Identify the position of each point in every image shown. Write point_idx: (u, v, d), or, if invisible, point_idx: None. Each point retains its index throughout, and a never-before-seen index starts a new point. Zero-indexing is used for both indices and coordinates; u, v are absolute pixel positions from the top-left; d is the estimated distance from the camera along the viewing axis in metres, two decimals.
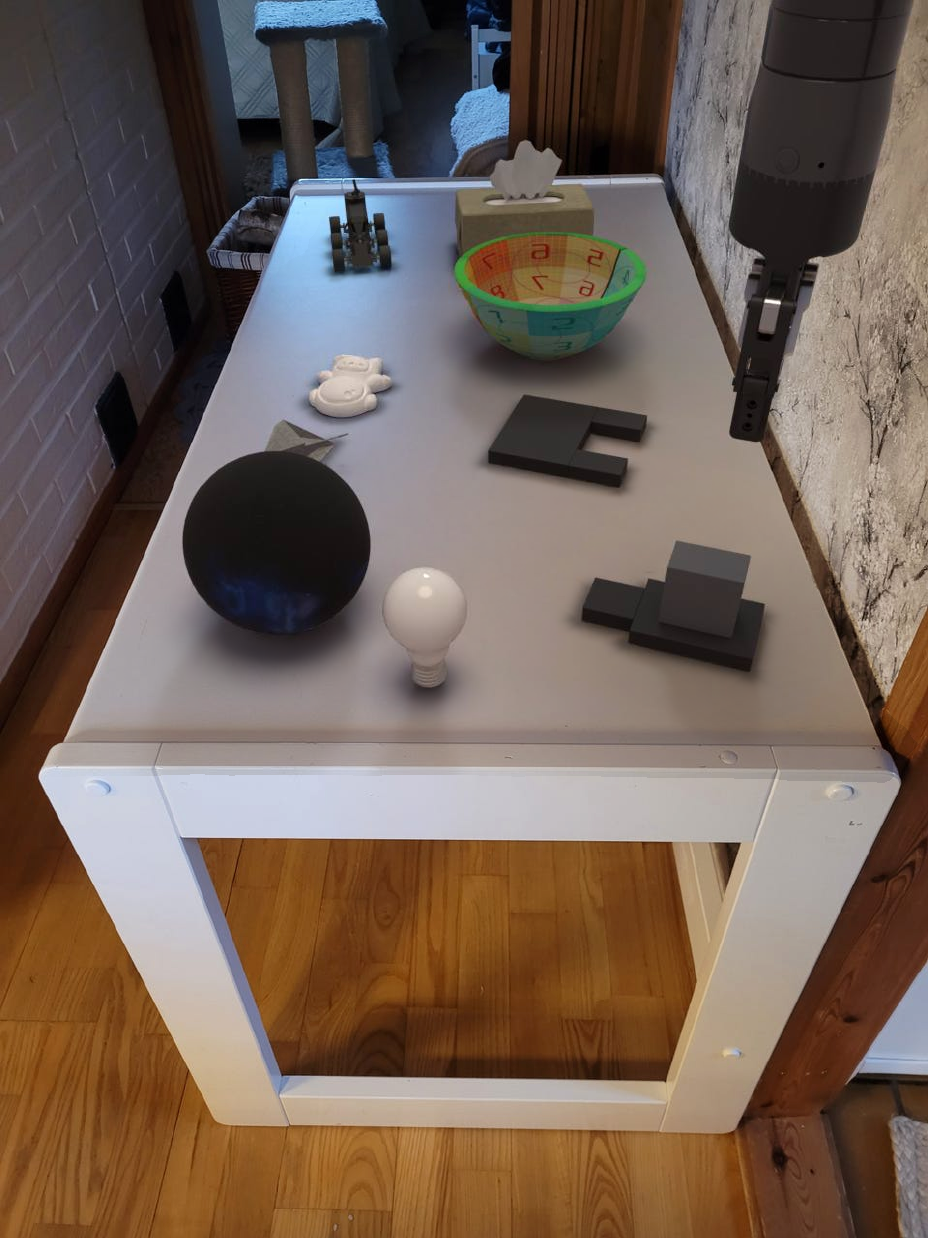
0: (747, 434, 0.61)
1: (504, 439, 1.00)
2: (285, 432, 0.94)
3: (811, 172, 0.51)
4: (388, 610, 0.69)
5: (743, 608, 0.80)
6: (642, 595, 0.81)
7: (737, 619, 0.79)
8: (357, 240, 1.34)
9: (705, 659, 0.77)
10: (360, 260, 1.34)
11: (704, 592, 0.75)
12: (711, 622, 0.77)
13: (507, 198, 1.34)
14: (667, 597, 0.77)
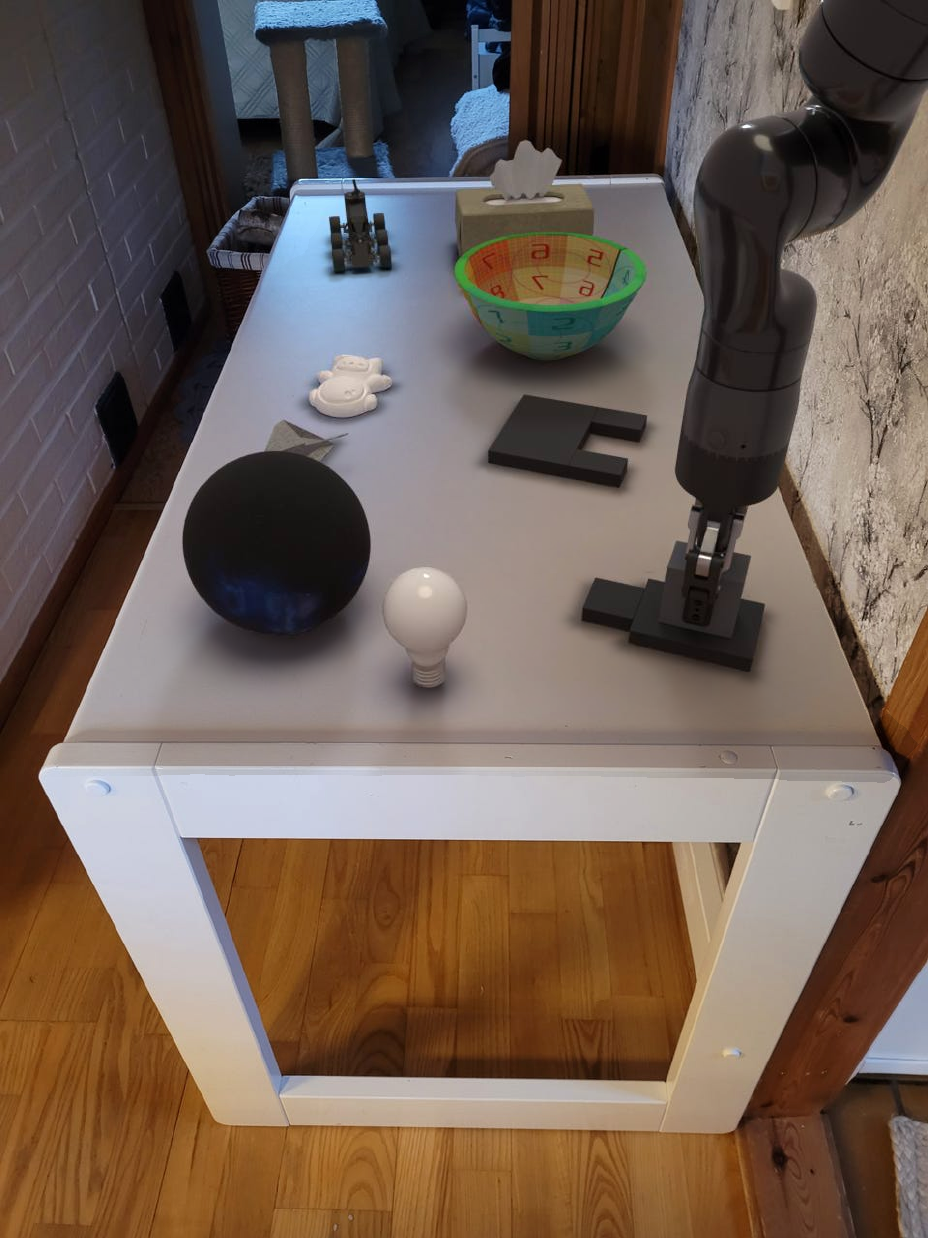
0: (696, 622, 0.76)
1: (504, 439, 1.00)
2: (285, 432, 0.94)
3: (735, 451, 0.64)
4: (388, 610, 0.69)
5: (743, 608, 0.80)
6: (642, 595, 0.81)
7: (737, 619, 0.79)
8: (357, 240, 1.34)
9: (705, 659, 0.77)
10: (360, 260, 1.34)
11: None
12: (711, 622, 0.77)
13: (507, 198, 1.34)
14: (667, 597, 0.77)
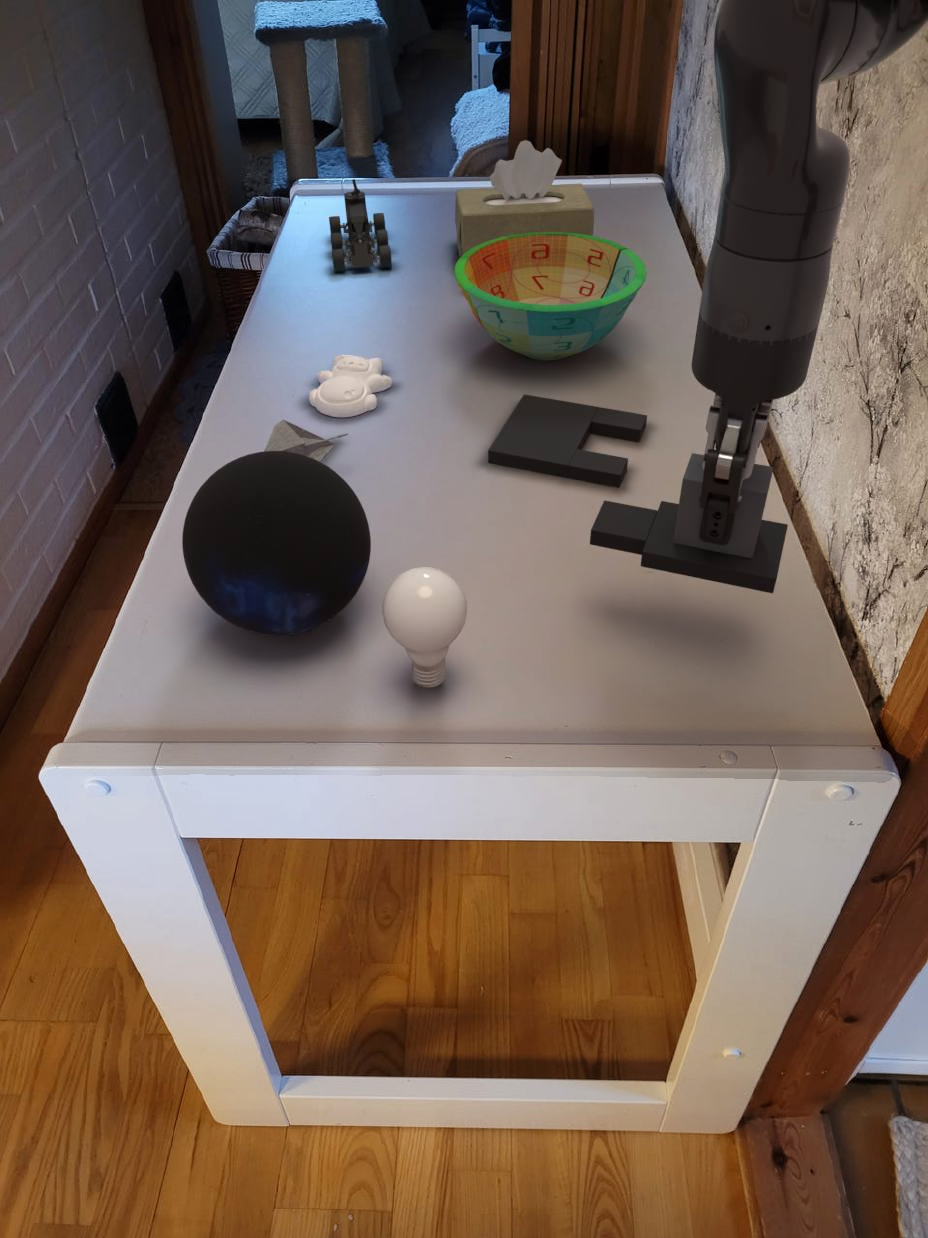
0: (714, 539, 0.70)
1: (504, 439, 1.00)
2: (285, 432, 0.94)
3: (759, 333, 0.58)
4: (388, 610, 0.69)
5: (764, 529, 0.74)
6: (654, 518, 0.76)
7: (758, 540, 0.73)
8: (357, 240, 1.34)
9: (724, 581, 0.72)
10: (360, 260, 1.34)
11: None
12: (730, 541, 0.71)
13: (507, 198, 1.34)
14: (682, 513, 0.71)
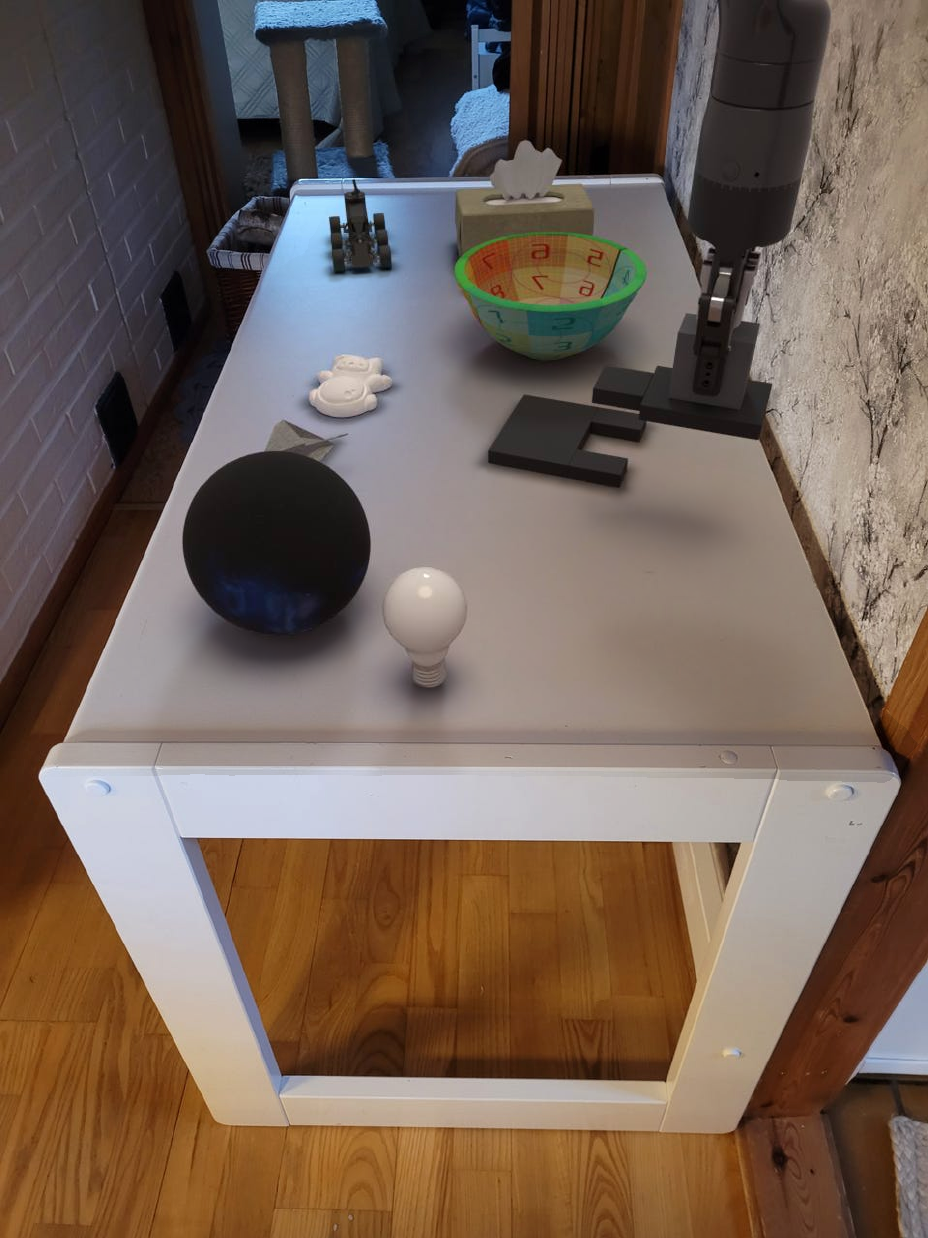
0: (706, 389, 0.77)
1: (504, 439, 1.00)
2: (285, 432, 0.94)
3: (749, 180, 0.65)
4: (388, 610, 0.69)
5: (751, 387, 0.81)
6: (651, 378, 0.83)
7: (745, 395, 0.80)
8: (357, 240, 1.34)
9: (714, 430, 0.79)
10: (360, 260, 1.34)
11: None
12: (720, 392, 0.78)
13: (507, 198, 1.34)
14: (677, 367, 0.78)
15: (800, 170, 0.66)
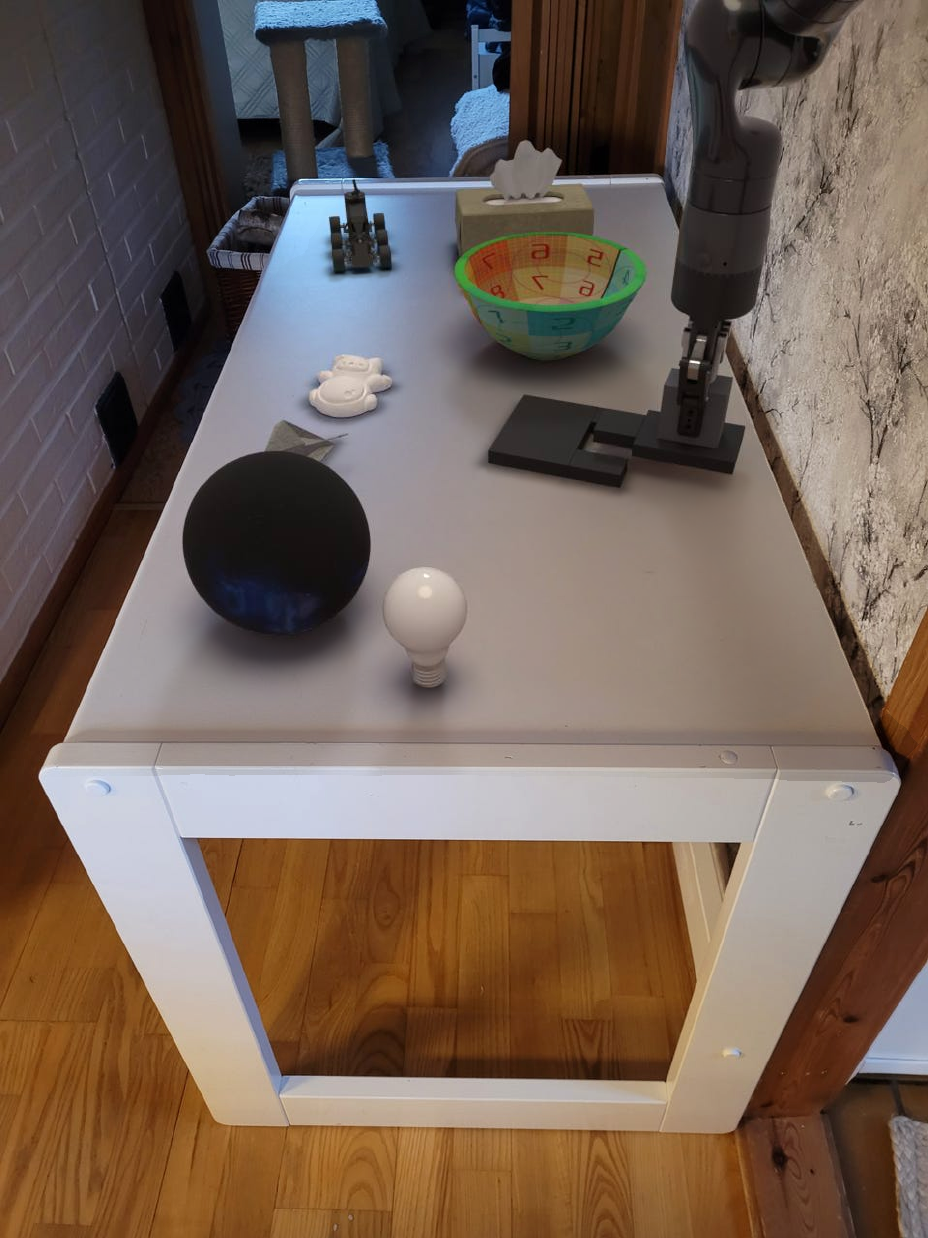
0: (688, 432, 0.92)
1: (504, 439, 1.00)
2: (285, 432, 0.94)
3: (719, 268, 0.80)
4: (388, 610, 0.69)
5: (727, 429, 0.96)
6: (643, 421, 0.98)
7: (722, 436, 0.95)
8: (357, 240, 1.34)
9: (695, 466, 0.94)
10: (360, 260, 1.34)
11: None
12: (700, 434, 0.93)
13: (507, 198, 1.34)
14: (664, 413, 0.93)
15: (761, 259, 0.81)
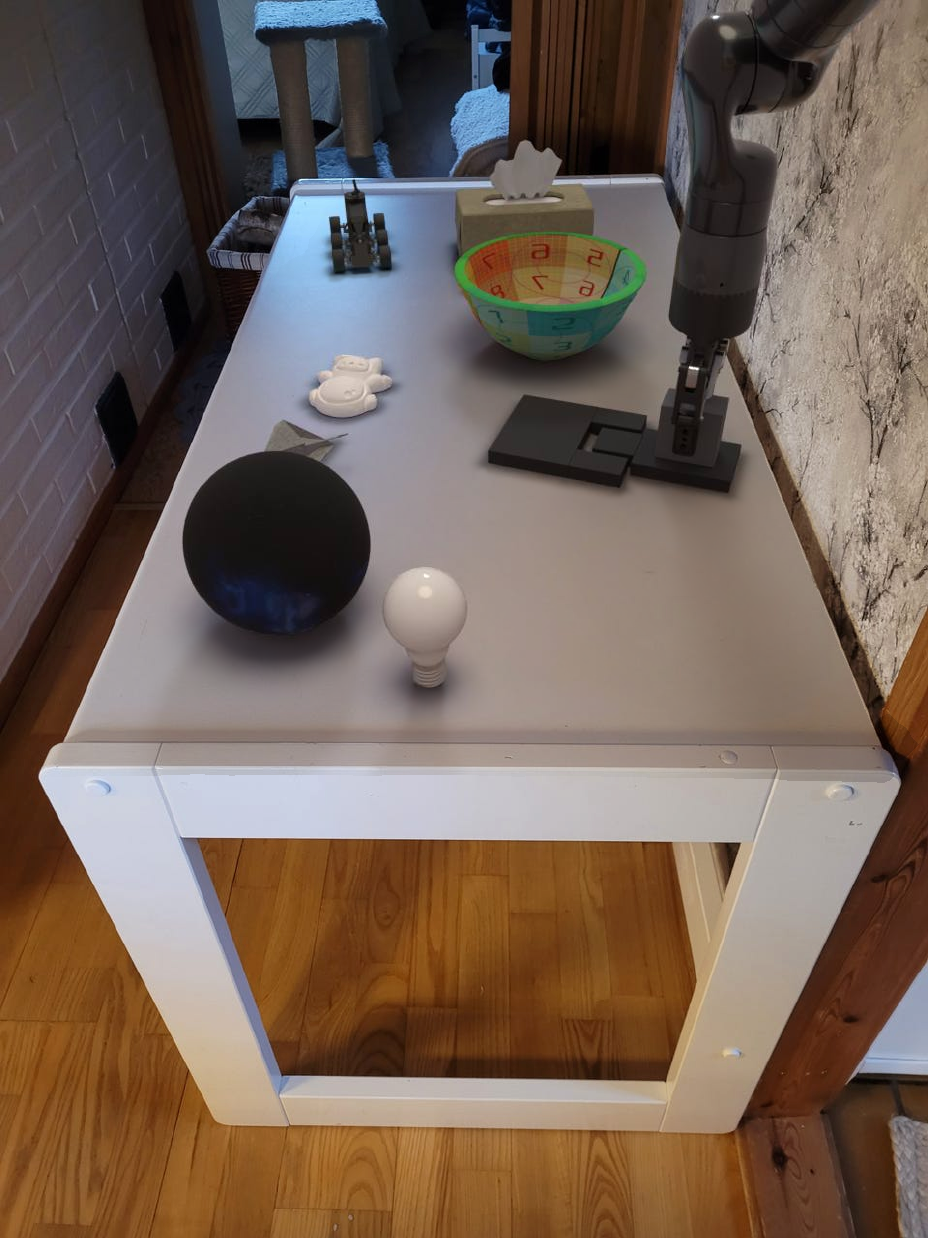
0: (683, 451, 0.91)
1: (504, 439, 1.00)
2: (285, 432, 0.94)
3: (715, 289, 0.81)
4: (388, 610, 0.69)
5: (723, 447, 0.98)
6: (640, 439, 0.99)
7: (718, 454, 0.97)
8: (357, 240, 1.34)
9: (692, 484, 0.95)
10: (360, 260, 1.34)
11: None
12: (697, 453, 0.95)
13: (507, 198, 1.34)
14: (661, 433, 0.95)
15: (757, 279, 0.82)
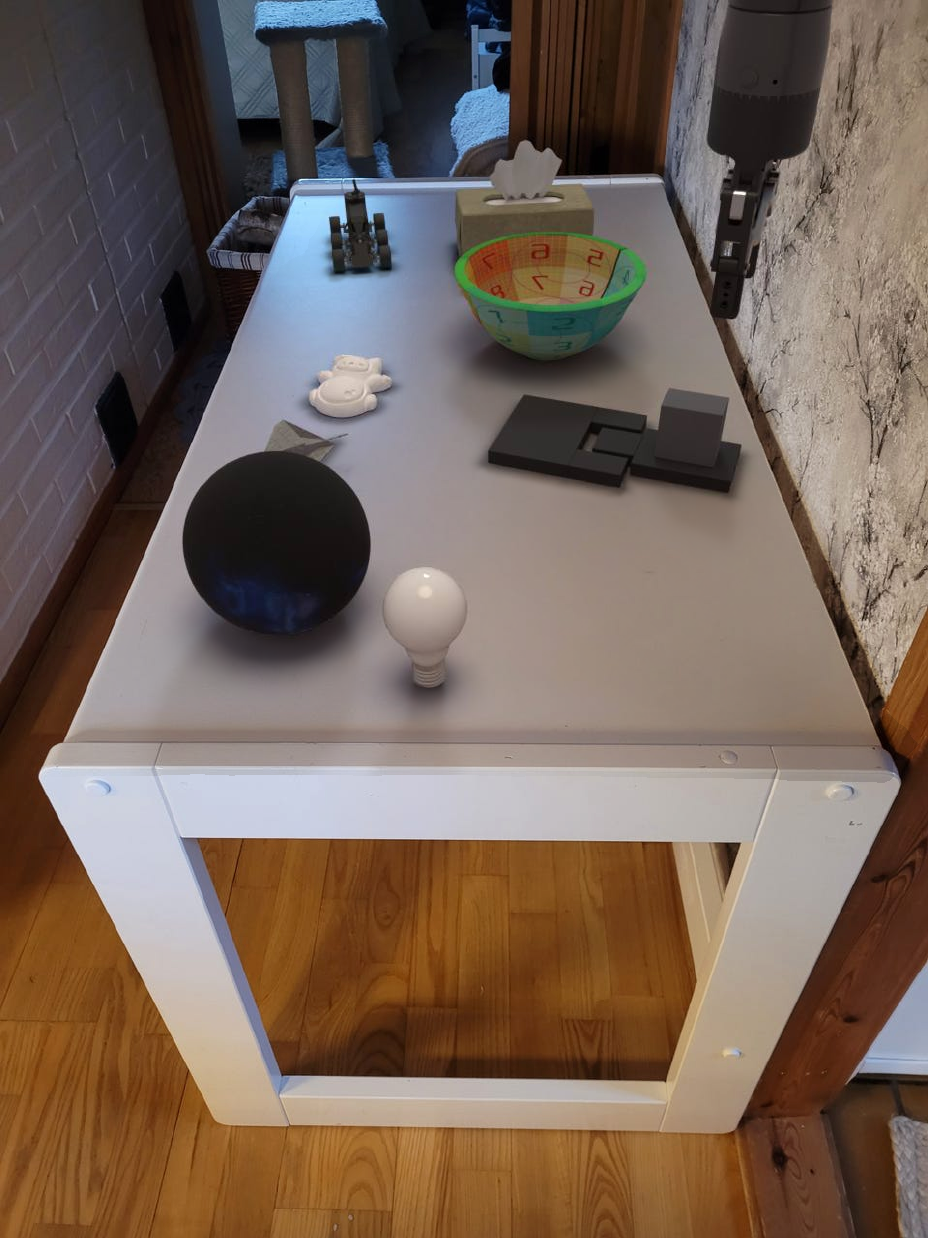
0: (724, 311, 0.75)
1: (504, 439, 1.00)
2: (285, 432, 0.94)
3: (767, 88, 0.66)
4: (388, 610, 0.69)
5: (723, 447, 0.98)
6: (640, 439, 0.99)
7: (718, 454, 0.97)
8: (357, 240, 1.34)
9: (692, 484, 0.95)
10: (360, 260, 1.34)
11: (691, 426, 0.93)
12: (697, 453, 0.95)
13: (507, 198, 1.34)
14: (661, 433, 0.95)
15: (819, 79, 0.67)
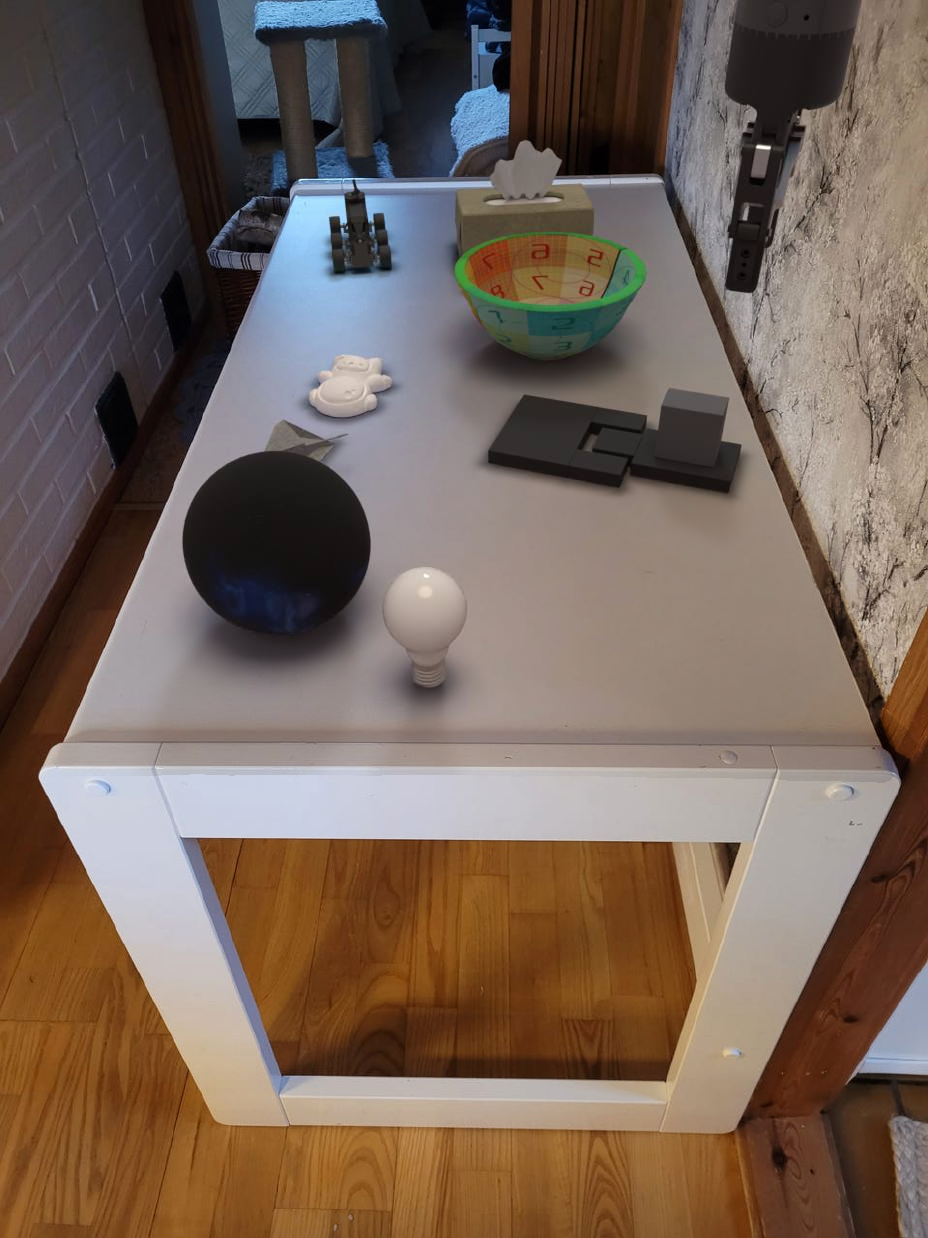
0: (741, 284, 0.67)
1: (504, 439, 1.00)
2: (285, 432, 0.94)
3: (797, 24, 0.57)
4: (388, 610, 0.69)
5: (723, 447, 0.98)
6: (640, 439, 0.99)
7: (718, 454, 0.97)
8: (357, 240, 1.34)
9: (692, 484, 0.95)
10: (360, 260, 1.34)
11: (691, 426, 0.93)
12: (697, 453, 0.95)
13: (507, 198, 1.34)
14: (661, 433, 0.95)
15: (855, 16, 0.58)
